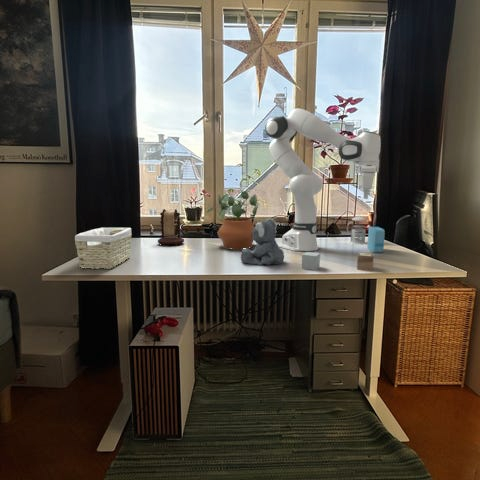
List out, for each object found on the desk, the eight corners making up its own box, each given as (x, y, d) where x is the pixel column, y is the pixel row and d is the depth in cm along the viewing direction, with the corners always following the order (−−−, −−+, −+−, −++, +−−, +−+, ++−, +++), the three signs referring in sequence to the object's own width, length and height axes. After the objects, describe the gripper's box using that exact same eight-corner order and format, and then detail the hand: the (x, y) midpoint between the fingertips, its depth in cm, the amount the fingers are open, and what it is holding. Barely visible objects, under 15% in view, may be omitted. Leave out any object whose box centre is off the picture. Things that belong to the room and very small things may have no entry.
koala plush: (256, 256, 170) (256, 216, 167) (290, 260, 161) (292, 218, 158) (238, 263, 156) (238, 219, 152) (274, 268, 147) (275, 222, 143)
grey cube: (301, 268, 147) (302, 254, 146) (305, 265, 153) (306, 251, 152) (315, 270, 145) (316, 256, 144) (319, 267, 150) (320, 253, 149)
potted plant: (256, 251, 180) (257, 192, 175) (203, 250, 183) (201, 192, 177) (258, 243, 202) (259, 190, 197) (210, 242, 205) (210, 190, 200)
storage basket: (101, 257, 168) (99, 226, 165) (134, 257, 167) (132, 227, 164) (75, 270, 144) (72, 235, 142) (113, 271, 143) (111, 235, 141)
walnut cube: (358, 255, 144) (357, 269, 145) (373, 256, 143) (372, 270, 144) (357, 252, 150) (356, 266, 151) (372, 253, 148) (371, 267, 149)
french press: (369, 244, 199) (372, 200, 195) (348, 244, 199) (351, 200, 195) (363, 241, 209) (366, 199, 204) (343, 241, 209) (346, 199, 205)
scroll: (154, 246, 193) (152, 210, 190) (162, 241, 208) (161, 207, 204) (180, 247, 191) (178, 210, 188) (187, 242, 206) (186, 208, 202)
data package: (383, 253, 176) (385, 229, 174) (374, 253, 177) (375, 229, 175) (375, 248, 188) (377, 226, 186) (367, 248, 188) (368, 226, 186)
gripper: (360, 168, 171) (358, 197, 174) (361, 167, 152) (358, 199, 155) (374, 168, 169) (372, 197, 172) (376, 168, 150) (373, 200, 153)
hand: (365, 198), depth 163 cm, fingers closed
